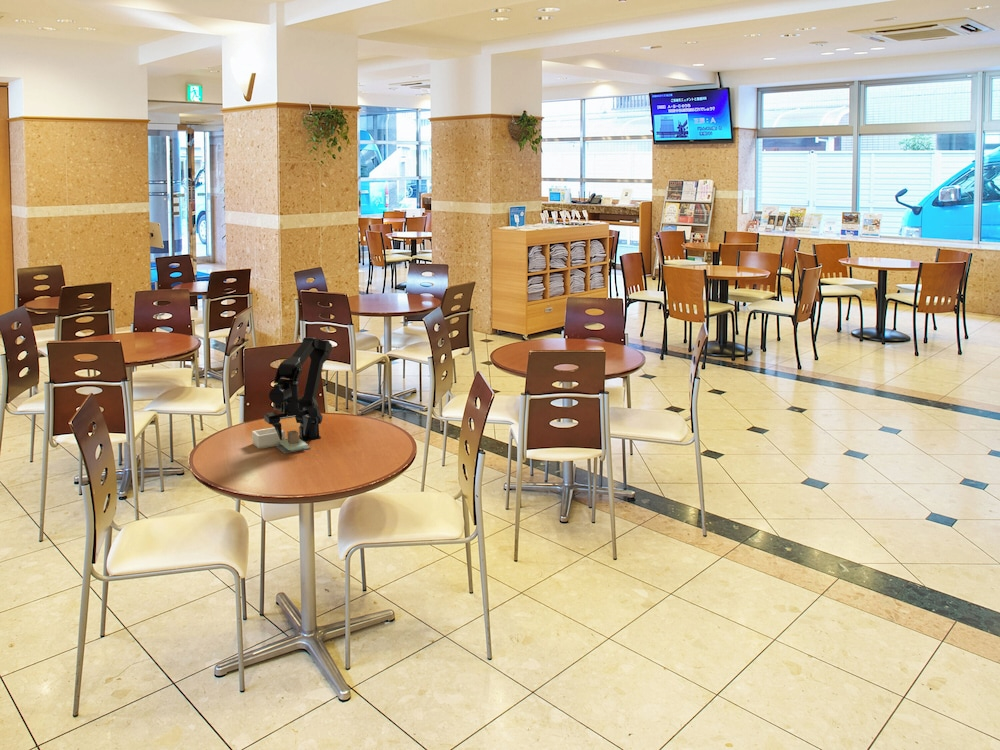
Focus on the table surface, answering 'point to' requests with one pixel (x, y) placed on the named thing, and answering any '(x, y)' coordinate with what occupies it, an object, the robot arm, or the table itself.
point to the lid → (293, 441)
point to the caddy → (266, 438)
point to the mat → (289, 450)
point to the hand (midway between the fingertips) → (292, 437)
